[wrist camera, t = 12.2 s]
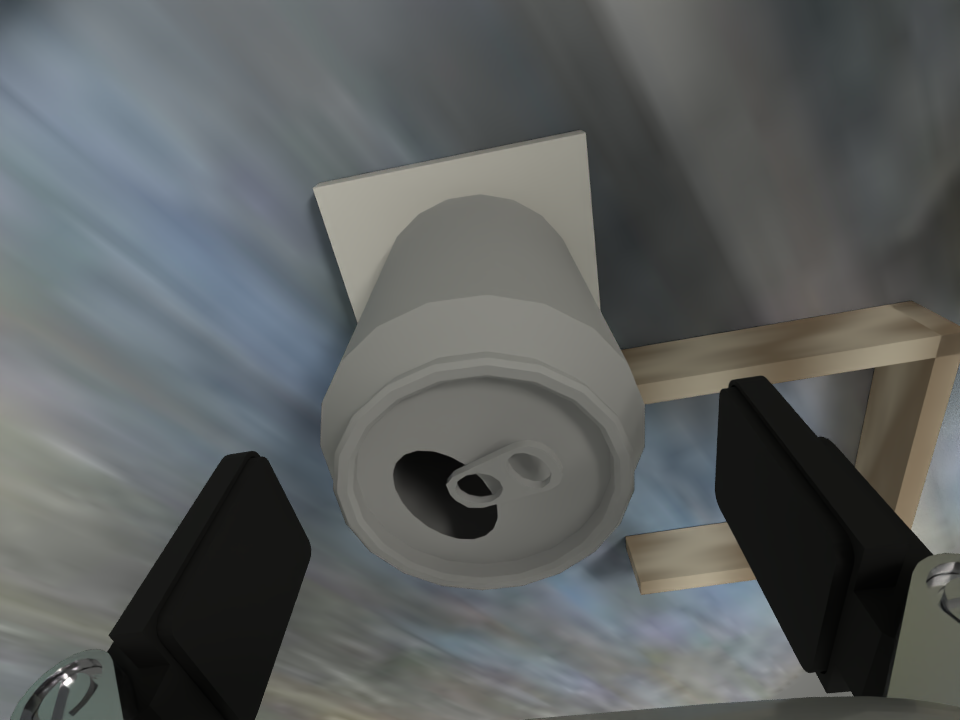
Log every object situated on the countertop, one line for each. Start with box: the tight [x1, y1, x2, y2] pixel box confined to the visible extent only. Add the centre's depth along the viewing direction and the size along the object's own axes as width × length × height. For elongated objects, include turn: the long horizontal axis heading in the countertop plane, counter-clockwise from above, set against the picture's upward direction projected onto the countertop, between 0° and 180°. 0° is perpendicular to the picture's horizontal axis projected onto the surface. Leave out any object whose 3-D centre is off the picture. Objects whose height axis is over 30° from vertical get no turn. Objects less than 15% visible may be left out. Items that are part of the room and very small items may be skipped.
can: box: [320, 194, 645, 590], centre depth 16 cm, size 8×8×12 cm
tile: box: [313, 130, 601, 323], centre depth 22 cm, size 10×10×1 cm
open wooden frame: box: [621, 301, 960, 595], centre depth 25 cm, size 13×13×3 cm
